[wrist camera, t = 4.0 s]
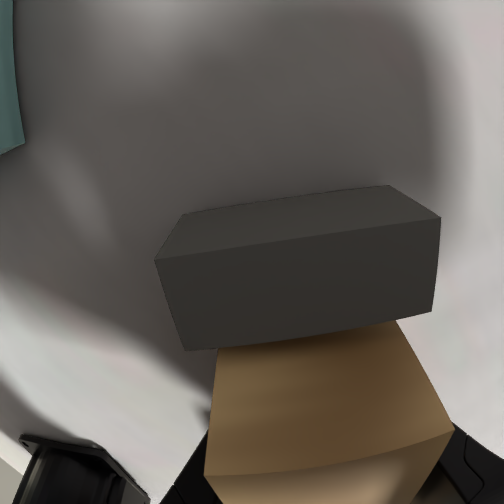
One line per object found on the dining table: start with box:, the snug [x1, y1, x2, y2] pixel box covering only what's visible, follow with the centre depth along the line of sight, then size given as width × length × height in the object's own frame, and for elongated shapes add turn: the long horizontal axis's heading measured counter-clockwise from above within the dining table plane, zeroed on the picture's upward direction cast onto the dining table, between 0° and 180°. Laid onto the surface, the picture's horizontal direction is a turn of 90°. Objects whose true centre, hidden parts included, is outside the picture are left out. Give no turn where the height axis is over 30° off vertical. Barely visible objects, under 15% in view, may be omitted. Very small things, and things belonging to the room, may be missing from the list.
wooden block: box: [204, 320, 455, 504], centre depth 7 cm, size 4×6×5 cm, turn 9°
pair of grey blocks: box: [154, 185, 441, 351], centre depth 8 cm, size 5×11×2 cm, turn 9°
